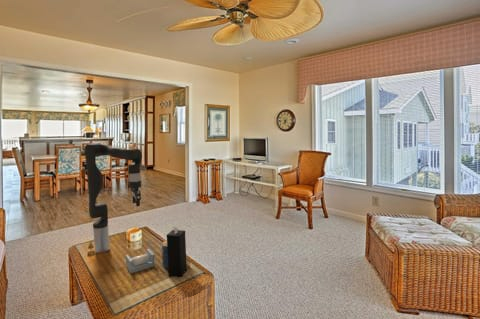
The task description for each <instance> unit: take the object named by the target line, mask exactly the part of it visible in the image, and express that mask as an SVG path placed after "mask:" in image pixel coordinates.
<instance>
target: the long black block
mask: <svg viewBox="0 0 480 319" xmlns="http://www.w3.org/2000/svg"><path fill="white" fill-rule="evenodd" d="M166 240H167V251H168V269H167V270H168V277H172V278H173V277H175V278H182V277H183V276H184V275H185V274H186V272H187V271H188V270H187V267H188V265H187V246H186V245H187V244H186V243H187V242H186V230H183V229H182V230H181V229H179V227H177V226H176V227H175V226H173V229H172V230H170V231H169V232H168V233H167V234H166Z"/></svg>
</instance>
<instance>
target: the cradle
mask: <svg viewBox="0 0 480 319" xmlns="http://www.w3.org/2000/svg"><path fill="white" fill-rule="evenodd" d="M146 252H147V253H146V254H147V255H148V258H149V263H146V264H143V265H140V266H137V267H132V260H131V258H132V257H130V256H129V254H125V261H126V263H125V264H126V267H127V268H126V269H127V270H128V271H129V273H130V274H134V273H138V272H140V271H143V270H146V269H149V268H153V267H155V254H154V253H153V251H152V250H151V249H150V248H147V249H146Z"/></svg>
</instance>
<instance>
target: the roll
mask: <svg viewBox="0 0 480 319" xmlns="http://www.w3.org/2000/svg"><path fill="white" fill-rule="evenodd" d="M130 258H131V260H132V267H137V266H140V265H143V264H146V263H149V258H148V255H147V253H145V254H141V255H138V256H133V257H130Z"/></svg>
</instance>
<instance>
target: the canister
mask: <svg viewBox="0 0 480 319" xmlns="http://www.w3.org/2000/svg"><path fill="white" fill-rule="evenodd" d="M161 250H162V251H161V258H162V261H161V262H162V267H163V268H164V269H167V270H168V251H167V239H166V240H164V241H163V242H162V245H161Z"/></svg>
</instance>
